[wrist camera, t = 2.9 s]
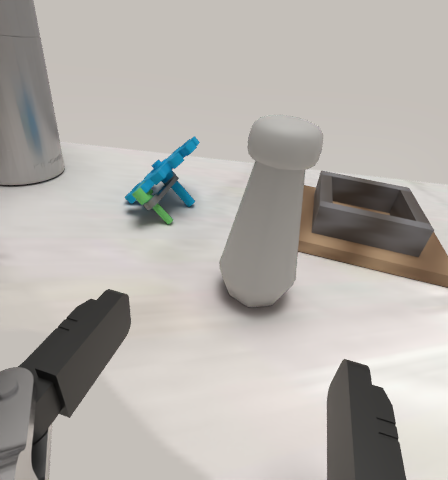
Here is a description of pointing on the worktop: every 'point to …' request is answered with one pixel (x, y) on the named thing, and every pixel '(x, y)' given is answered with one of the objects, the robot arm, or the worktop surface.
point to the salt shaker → (270, 210)
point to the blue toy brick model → (169, 179)
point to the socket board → (371, 228)
